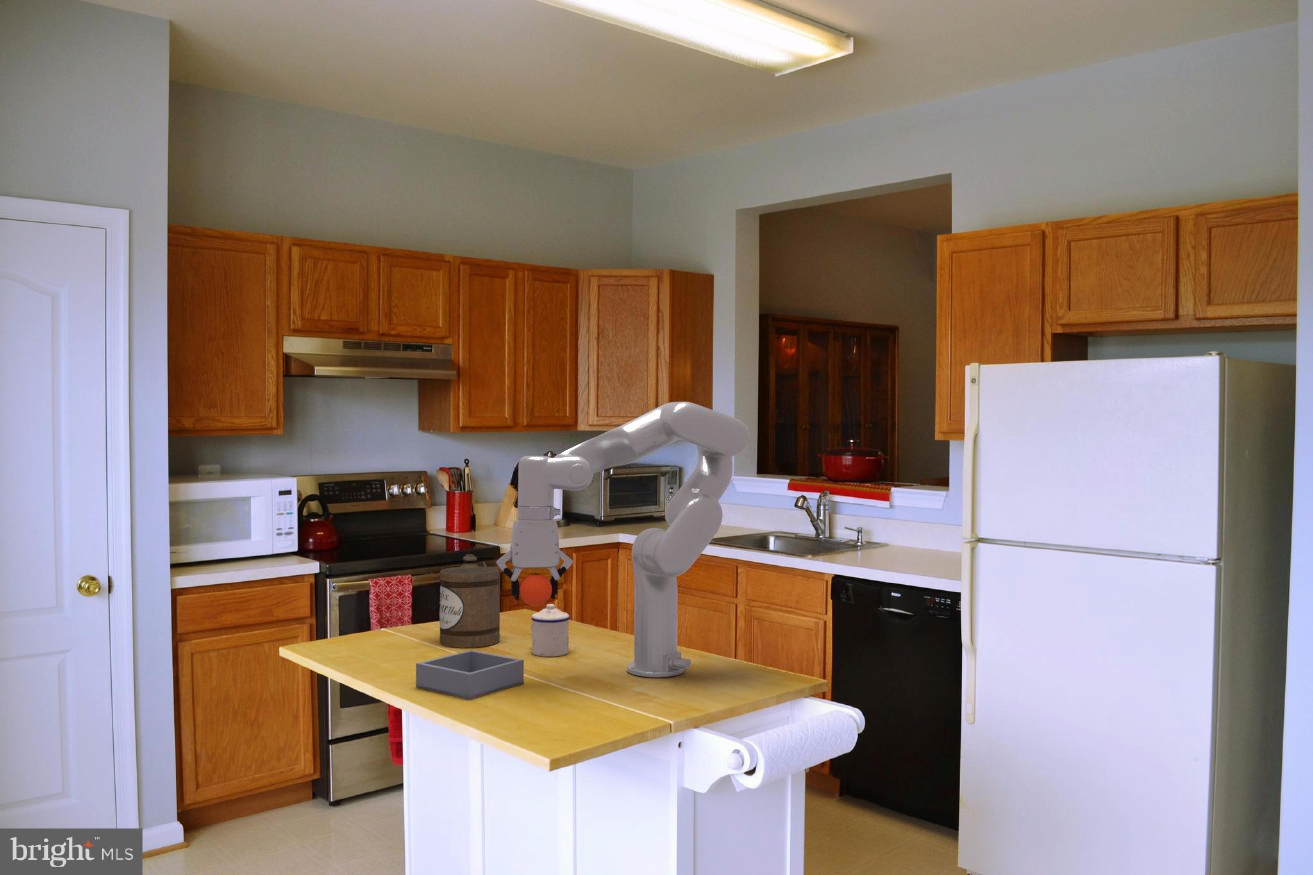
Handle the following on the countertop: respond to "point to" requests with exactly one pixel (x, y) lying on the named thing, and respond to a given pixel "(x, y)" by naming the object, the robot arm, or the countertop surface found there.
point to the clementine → (535, 589)
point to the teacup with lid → (550, 632)
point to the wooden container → (469, 605)
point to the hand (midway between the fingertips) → (534, 597)
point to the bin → (469, 674)
